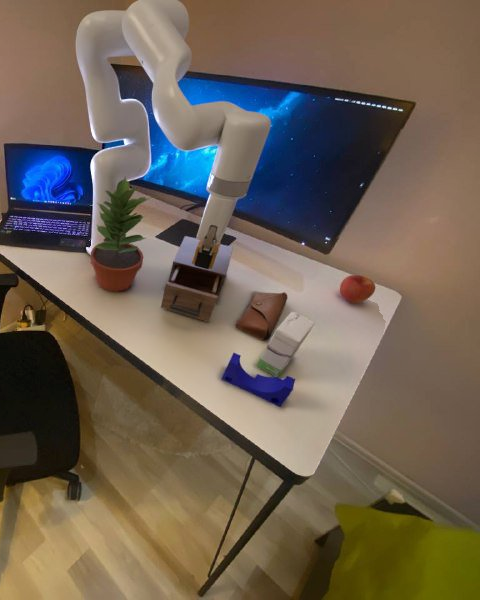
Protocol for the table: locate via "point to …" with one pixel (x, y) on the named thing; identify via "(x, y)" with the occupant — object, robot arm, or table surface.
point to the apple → (356, 288)
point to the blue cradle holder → (258, 382)
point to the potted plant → (118, 241)
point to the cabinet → (185, 260)
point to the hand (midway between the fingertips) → (203, 260)
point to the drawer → (191, 293)
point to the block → (213, 252)
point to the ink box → (285, 343)
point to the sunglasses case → (262, 314)
